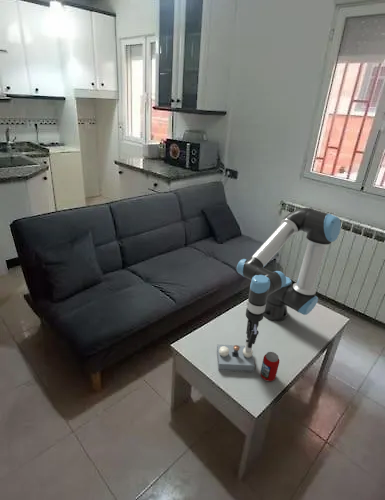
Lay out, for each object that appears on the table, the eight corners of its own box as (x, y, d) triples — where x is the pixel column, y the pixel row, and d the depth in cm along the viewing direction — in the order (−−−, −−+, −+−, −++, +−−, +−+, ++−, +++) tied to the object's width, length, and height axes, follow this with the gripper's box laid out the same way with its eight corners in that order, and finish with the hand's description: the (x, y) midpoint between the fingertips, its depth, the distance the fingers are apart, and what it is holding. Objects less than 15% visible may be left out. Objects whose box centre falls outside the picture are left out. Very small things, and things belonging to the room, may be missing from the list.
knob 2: (250, 355, 146) (252, 347, 144) (252, 362, 142) (253, 354, 140) (241, 354, 146) (242, 347, 144) (242, 361, 142) (243, 354, 140)
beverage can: (258, 370, 141) (262, 350, 135) (272, 369, 141) (277, 350, 136) (262, 382, 135) (266, 362, 129) (277, 382, 135) (282, 362, 130)
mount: (249, 352, 150) (250, 346, 148) (253, 371, 140) (254, 365, 138) (216, 350, 150) (217, 344, 148) (218, 370, 139) (219, 363, 138)
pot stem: (238, 351, 144) (239, 345, 142) (239, 356, 142) (240, 349, 140) (232, 351, 144) (233, 344, 142) (232, 355, 141) (233, 349, 140)
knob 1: (227, 354, 146) (228, 346, 144) (228, 361, 142) (229, 353, 140) (218, 353, 146) (219, 346, 144) (218, 360, 142) (219, 353, 140)
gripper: (244, 299, 137) (238, 340, 148) (249, 318, 125) (241, 361, 136) (261, 300, 137) (253, 340, 148) (267, 319, 125) (258, 362, 136)
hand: (248, 350), depth 142 cm, fingers closed
